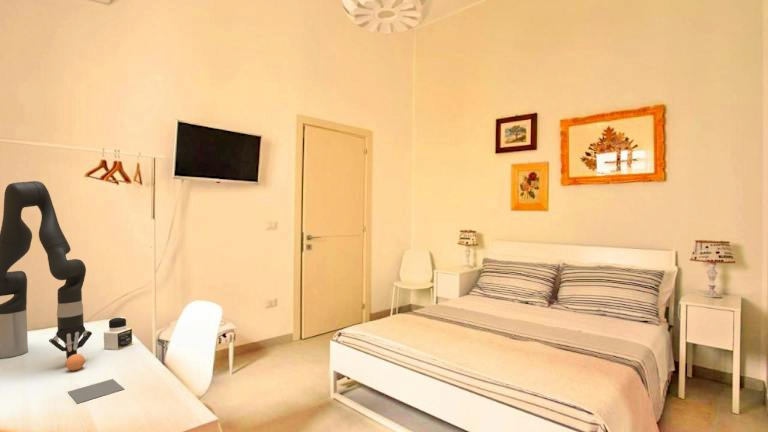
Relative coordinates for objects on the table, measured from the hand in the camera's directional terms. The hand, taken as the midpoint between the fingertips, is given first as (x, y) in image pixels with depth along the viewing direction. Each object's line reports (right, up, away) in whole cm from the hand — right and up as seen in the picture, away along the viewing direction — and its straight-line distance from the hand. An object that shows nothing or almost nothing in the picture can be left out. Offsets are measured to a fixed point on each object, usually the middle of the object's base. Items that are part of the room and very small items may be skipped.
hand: (71, 360), depth 146 cm
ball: (+5, +1, -5) cm, 7 cm away
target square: (+25, -1, -22) cm, 33 cm away
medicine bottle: (+4, -2, +20) cm, 20 cm away
